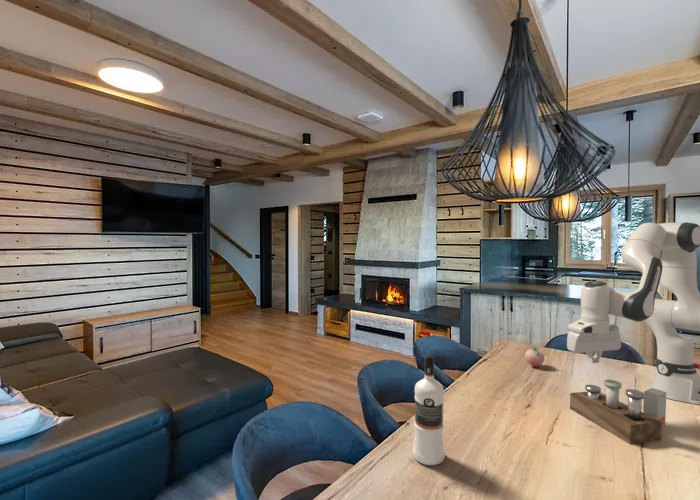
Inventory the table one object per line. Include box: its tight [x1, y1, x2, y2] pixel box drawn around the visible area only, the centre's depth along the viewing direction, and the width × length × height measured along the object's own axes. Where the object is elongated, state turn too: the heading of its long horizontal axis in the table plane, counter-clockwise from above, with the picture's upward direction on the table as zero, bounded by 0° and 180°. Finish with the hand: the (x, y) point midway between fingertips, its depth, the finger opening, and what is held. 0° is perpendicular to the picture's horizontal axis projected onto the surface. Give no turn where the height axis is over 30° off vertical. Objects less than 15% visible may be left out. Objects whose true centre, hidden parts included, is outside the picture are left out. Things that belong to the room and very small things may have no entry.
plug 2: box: [625, 388, 644, 421], centre depth 118 cm, size 5×5×9 cm
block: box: [569, 391, 663, 445], centre depth 126 cm, size 12×24×6 cm, turn 11°
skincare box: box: [642, 388, 667, 428], centre depth 124 cm, size 6×4×12 cm
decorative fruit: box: [524, 347, 545, 368], centre depth 181 cm, size 9×8×10 cm
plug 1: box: [584, 384, 602, 399], centre depth 134 cm, size 5×5×9 cm
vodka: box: [412, 355, 446, 466], centre depth 106 cm, size 9×9×30 cm
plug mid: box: [603, 379, 622, 410], centre depth 126 cm, size 5×5×9 cm
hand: (594, 362), depth 133 cm, fingers closed
